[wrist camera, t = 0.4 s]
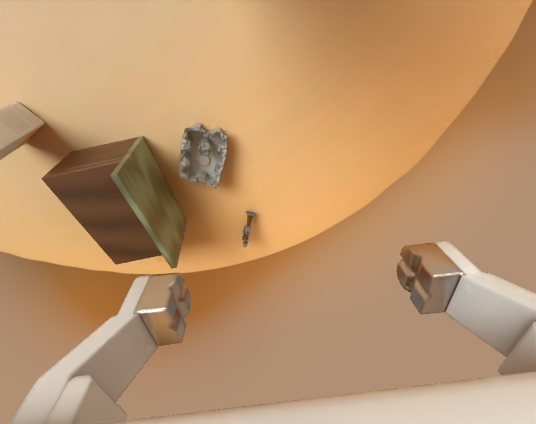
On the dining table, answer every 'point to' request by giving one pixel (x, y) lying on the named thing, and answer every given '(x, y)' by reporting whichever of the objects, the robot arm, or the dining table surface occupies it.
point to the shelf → (121, 200)
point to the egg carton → (202, 155)
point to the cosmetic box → (16, 127)
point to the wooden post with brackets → (247, 228)
